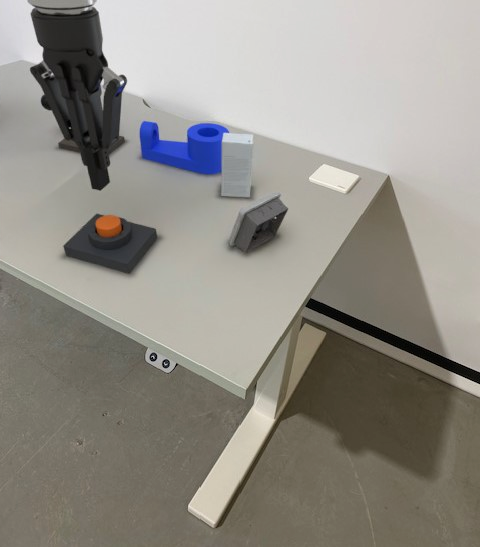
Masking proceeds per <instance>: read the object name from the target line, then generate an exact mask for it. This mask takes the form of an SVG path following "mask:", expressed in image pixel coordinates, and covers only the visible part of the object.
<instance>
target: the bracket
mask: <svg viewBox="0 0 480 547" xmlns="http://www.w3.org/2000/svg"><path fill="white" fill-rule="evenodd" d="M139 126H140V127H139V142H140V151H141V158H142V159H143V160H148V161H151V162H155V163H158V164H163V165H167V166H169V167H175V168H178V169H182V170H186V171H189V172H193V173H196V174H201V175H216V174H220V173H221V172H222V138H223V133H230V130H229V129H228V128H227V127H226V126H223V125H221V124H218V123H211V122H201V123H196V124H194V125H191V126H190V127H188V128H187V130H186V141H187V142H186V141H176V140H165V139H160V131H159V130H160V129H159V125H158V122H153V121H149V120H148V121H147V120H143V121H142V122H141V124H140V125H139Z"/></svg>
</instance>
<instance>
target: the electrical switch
mask: <svg viewBox="0 0 480 547" xmlns="http://www.w3.org/2000/svg"><path fill="white" fill-rule="evenodd" d="M281 197H282V194H281V193H280V192H279V191H277V190H276V191H274V192H272V193H270V194H268V195H266V196H263V197H262V198H259V199H258V200H256V201H254V202H252V203H250V204H248V205H246V206H244V207H242V208H241V209H240V210H239V212H238V214H237V216H236V219H235V223H234V225H233V227H232V230H231V233H230V236H229V239H228V243H229V245H230V246H231V247H233V246H235V245H236V246H237V248H239V249H240V250H241V251H242V252H243V253H244V254H247V253H249V252H251V251H253V250H254V249H255V248H256V249H257V247H259V246H261V245H263V244H264V243H266V242H268V241H270V240H271V239H272V238H274V237H275V236H276V235H277V233H278V230H279V228H280V227H281V225H282V223H283V221H284V219H285V217H286V214H287V213H288V211H289V207H288V206H286V204H285V203H284V202H283V201H282V200H281V199H280V198H281ZM253 237H254V238H255V239H254V238H253Z"/></svg>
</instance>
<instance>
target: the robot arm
mask: <svg viewBox="0 0 480 547" xmlns="http://www.w3.org/2000/svg"><path fill="white" fill-rule="evenodd" d="M26 1H27V3H28V4H29V5H30V6H32V7H33V8H32V9H31V12H30V18H31V22H32V25H33V29H34V33H35V37H36V41H37V43H38V45H39V46H40V47H42V54H41V55H42V60H41V61H40V62H39V63H36V64H34V65H32V66H31V67H30V68H29V71H30V74H31V76H32V77H33V78H34V79H35V81H36V82H37V84H38V85H39V86H40V88H41V90H42V92H43V95H45V97H46V99H47V101H48V103H49V106H50V108H51V110H52V111H51V112H52V114H53V116H54V119H55V121H56V123H57V126H58V127H59V130H60V132H61V135H62V137H63V139H66V140H68V141H69V140H72V141H74V142H75V143H76V145H77V146H78V147H79V150H80V152H79V154H80V158H81V162H82V164H83V166H84V167H86V168H87V173H88V178H89V182H90V186H91V189H92V190H96V191H103V189H104V188H105V187H107V186H108V185H109V184H110V183H111V179H110V174H109V169H108V168H109V167H110V166H111V158H110V154H109V153H108V149H109V148H110V147H111V146H112V145H114V144H115V143H116V142H117V141H118V140H119V136H120V128H121V116H122V115H121V113H122V100H123V99H122V98H123V92H124V89H125V88H126V85H127V84H128V83H127V82H128V78H127V77H126V76H125V75H124V74H119V75H118V74H117V73H116V72H114V71H113V70H112V69H111V68H110V67H109V62H108V60H107V58H106V56H105V54H104V51H103V43H104V37H103V31H102V24H101V19H100V12H99V11H98V10H97V8H96V7H94V5H95V4H96V3H97V2H98V0H26ZM102 82H103V85H101V84H102ZM102 88H103V90H104V94H103V102H102V93H103V92H102Z"/></svg>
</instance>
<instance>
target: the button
mask: <svg viewBox="0 0 480 547" xmlns="http://www.w3.org/2000/svg"><path fill="white" fill-rule="evenodd" d="M118 217H119V216H116V215H114V214H108V215H107V214H106V215H105V216H102V217H100V218H99V219H97V221H96V228H97V233H98V234H99V235H100V236H102V237H113V236H116V235H118V234H120V233H121V231H122V227H121V221H120V219H119V218H118Z"/></svg>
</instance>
